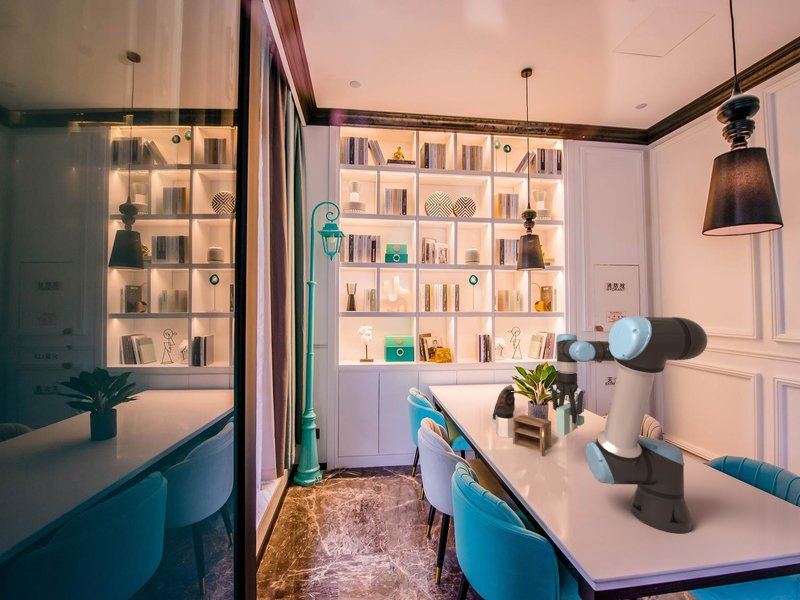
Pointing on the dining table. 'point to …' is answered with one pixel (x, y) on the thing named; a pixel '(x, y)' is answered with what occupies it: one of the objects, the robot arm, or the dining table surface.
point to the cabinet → (531, 432)
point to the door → (566, 419)
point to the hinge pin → (543, 441)
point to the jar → (504, 423)
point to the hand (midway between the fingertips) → (567, 429)
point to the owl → (505, 400)
